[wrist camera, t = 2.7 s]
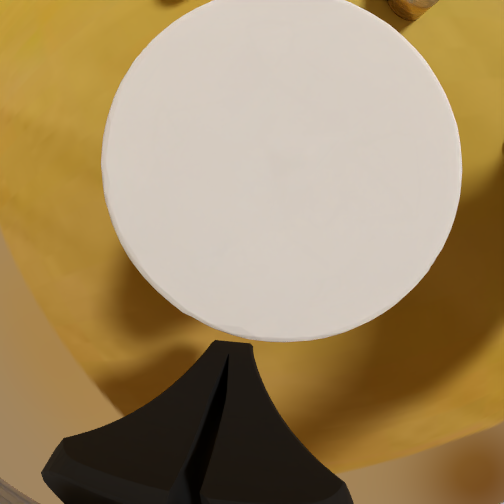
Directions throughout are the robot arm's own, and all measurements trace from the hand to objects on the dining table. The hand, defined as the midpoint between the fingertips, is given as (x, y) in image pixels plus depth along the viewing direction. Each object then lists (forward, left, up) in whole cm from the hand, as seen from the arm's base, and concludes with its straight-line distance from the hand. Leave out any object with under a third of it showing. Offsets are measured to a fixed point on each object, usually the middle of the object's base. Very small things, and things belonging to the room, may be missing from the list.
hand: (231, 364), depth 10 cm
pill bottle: (+3, -6, -4) cm, 8 cm away
